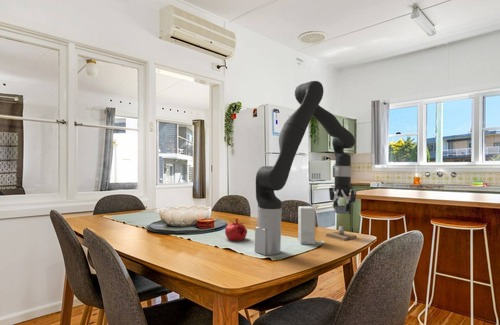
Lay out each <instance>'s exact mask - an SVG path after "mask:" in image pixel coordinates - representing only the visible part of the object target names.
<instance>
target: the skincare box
mask: <svg viewBox="0 0 500 325" xmlns="http://www.w3.org/2000/svg"><path fill="white" fill-rule="evenodd" d="M297 215H298V218H297V220H298V221H297V222H298V223H297V228H298V229H297V230H298V231H297V240H298V241H299V243H300V245H315V244H316V208H315V207H313V206H308V205H307V206H306V205H305V206H304V205H303V206H302V205H301V206H298V208H297Z"/></svg>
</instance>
